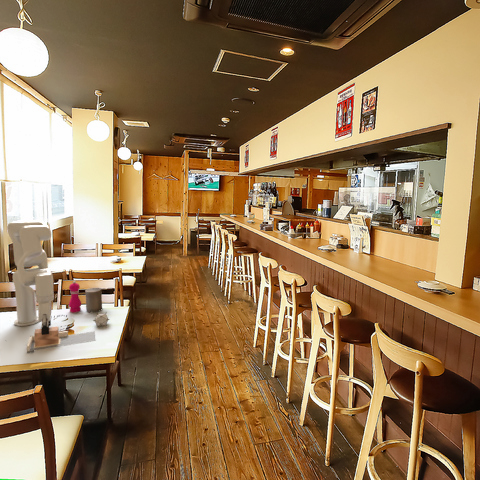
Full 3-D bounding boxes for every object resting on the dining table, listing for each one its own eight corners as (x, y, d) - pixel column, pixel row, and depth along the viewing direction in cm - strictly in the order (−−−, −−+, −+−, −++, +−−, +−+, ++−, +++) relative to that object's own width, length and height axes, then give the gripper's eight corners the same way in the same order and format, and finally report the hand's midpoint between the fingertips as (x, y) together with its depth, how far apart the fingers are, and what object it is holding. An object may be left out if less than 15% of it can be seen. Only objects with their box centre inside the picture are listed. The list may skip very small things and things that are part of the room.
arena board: (30, 342, 166) (30, 335, 165) (94, 333, 179) (94, 327, 178) (27, 353, 155) (26, 346, 155) (95, 342, 168) (95, 336, 168)
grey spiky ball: (103, 333, 187) (101, 324, 180) (90, 327, 188) (89, 318, 181) (113, 321, 193) (112, 312, 186) (101, 315, 194) (99, 306, 187)
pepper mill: (78, 308, 215) (77, 278, 212) (83, 310, 210) (82, 281, 208) (67, 310, 209) (65, 280, 206) (72, 313, 205) (70, 283, 202)
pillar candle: (105, 308, 216) (104, 286, 214) (95, 313, 207) (94, 290, 205) (93, 306, 219) (92, 285, 217) (82, 311, 210) (81, 289, 207)
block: (58, 339, 168) (58, 326, 167) (58, 343, 164) (57, 330, 163) (36, 342, 164) (35, 329, 163) (35, 346, 159) (34, 333, 158)
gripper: (38, 292, 166) (39, 324, 169) (33, 304, 151) (35, 338, 153) (54, 291, 169) (56, 322, 172) (52, 302, 154) (53, 336, 157)
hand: (46, 330), depth 163 cm, fingers open, 9 cm apart
